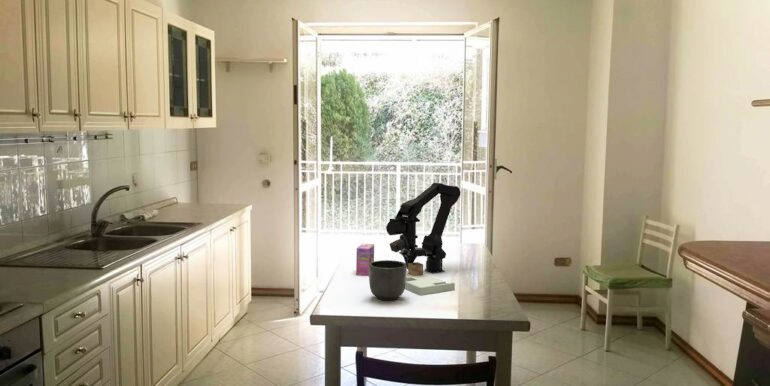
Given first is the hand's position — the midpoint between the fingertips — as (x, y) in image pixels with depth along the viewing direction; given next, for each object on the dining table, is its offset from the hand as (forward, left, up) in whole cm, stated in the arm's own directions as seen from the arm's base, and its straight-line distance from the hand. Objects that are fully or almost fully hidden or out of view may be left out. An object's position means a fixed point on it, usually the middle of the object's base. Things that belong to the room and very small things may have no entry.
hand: (408, 269), depth 260 cm
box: (+13, -15, -3) cm, 20 cm away
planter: (+25, +25, -3) cm, 36 cm away
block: (0, +5, -1) cm, 5 cm away
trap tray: (+4, +15, -3) cm, 16 cm away
